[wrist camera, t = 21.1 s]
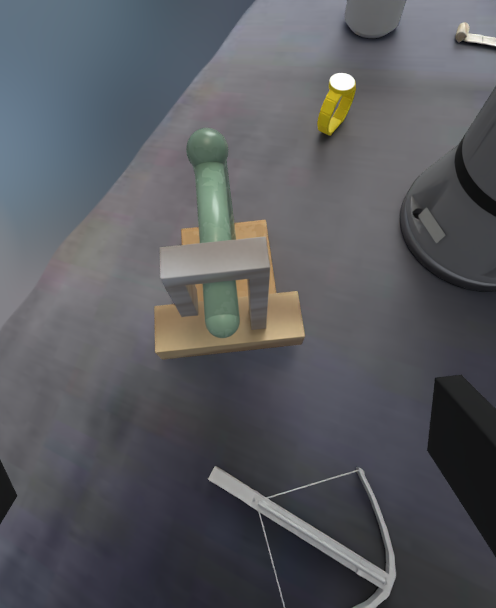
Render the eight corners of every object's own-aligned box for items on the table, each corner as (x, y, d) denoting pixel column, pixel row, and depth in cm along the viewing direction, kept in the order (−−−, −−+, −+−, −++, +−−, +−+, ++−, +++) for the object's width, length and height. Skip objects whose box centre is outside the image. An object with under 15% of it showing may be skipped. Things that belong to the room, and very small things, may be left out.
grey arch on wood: (302, 344, 33) (328, 278, 20) (162, 359, 32) (103, 302, 20) (294, 301, 34) (316, 215, 22) (161, 315, 34) (105, 237, 22)
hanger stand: (287, 377, 35) (306, 316, 20) (191, 388, 35) (133, 336, 20) (265, 227, 42) (267, 88, 26) (183, 236, 41) (134, 102, 26)
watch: (328, 147, 45) (338, 104, 40) (309, 137, 46) (315, 93, 40) (354, 115, 47) (367, 70, 41) (335, 106, 48) (345, 60, 42)
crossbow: (414, 501, 32) (425, 505, 30) (353, 667, 28) (361, 684, 26) (248, 405, 34) (249, 403, 32) (171, 545, 31) (167, 553, 29)
